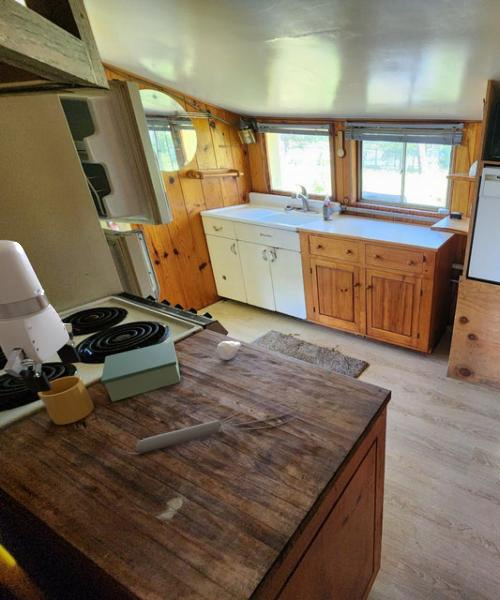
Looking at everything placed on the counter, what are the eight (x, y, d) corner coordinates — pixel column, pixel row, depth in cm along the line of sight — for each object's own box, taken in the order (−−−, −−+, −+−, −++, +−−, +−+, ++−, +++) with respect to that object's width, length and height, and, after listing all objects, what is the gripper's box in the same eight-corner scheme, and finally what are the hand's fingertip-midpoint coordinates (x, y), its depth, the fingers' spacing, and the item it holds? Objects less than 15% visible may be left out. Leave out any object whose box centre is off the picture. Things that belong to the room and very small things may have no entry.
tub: (110, 403, 78) (100, 381, 75) (114, 377, 86) (105, 356, 83) (182, 382, 85) (175, 361, 83) (178, 360, 94) (173, 340, 91)
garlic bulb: (247, 352, 99) (244, 336, 97) (231, 362, 94) (228, 346, 92) (233, 347, 101) (230, 332, 98) (217, 358, 96) (213, 342, 93)
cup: (45, 427, 71) (29, 398, 67) (65, 405, 76) (51, 378, 73) (83, 421, 72) (69, 393, 69) (99, 401, 78) (87, 374, 75)
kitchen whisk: (133, 442, 68) (123, 420, 65) (300, 407, 79) (298, 387, 77) (122, 467, 63) (111, 444, 60) (302, 426, 74) (300, 404, 71)
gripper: (29, 289, 69) (63, 355, 77) (-47, 329, 54) (4, 407, 62) (71, 286, 71) (100, 351, 79) (9, 324, 56) (52, 400, 63)
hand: (58, 376), depth 70 cm, fingers open, 9 cm apart
